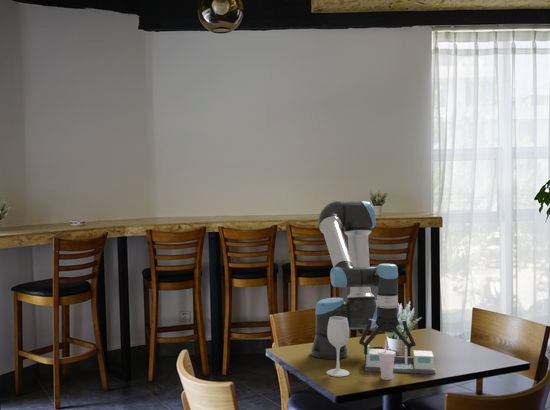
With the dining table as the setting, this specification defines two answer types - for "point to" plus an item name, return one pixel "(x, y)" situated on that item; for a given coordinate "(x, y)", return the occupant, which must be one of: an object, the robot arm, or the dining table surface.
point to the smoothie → (386, 362)
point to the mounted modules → (419, 359)
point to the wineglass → (338, 340)
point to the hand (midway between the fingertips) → (387, 364)
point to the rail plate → (402, 366)
